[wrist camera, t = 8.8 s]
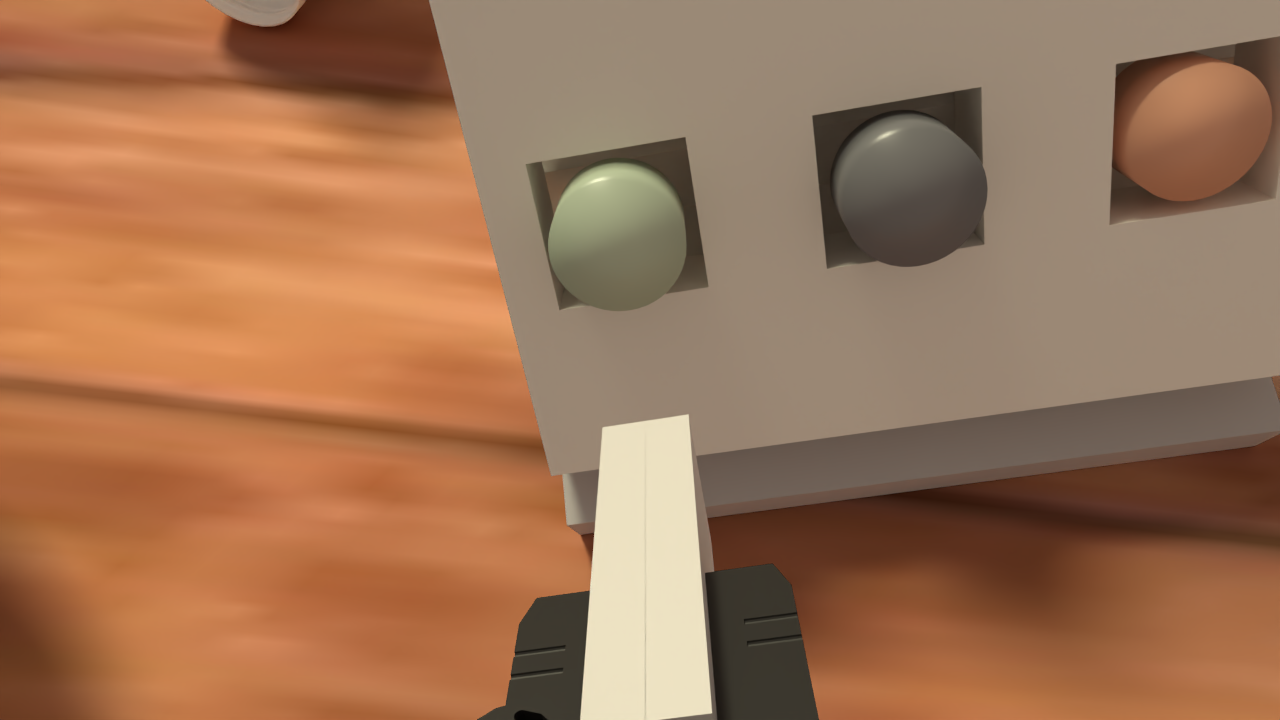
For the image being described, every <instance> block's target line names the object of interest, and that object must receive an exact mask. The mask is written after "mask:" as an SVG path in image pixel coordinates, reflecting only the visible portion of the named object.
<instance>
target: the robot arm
mask: <svg viewBox="0 0 1280 720" xmlns="http://www.w3.org/2000/svg"><path fill="white" fill-rule="evenodd" d="M477 720H819V718H818V713H817V708H816V703H815V698H814V693H813V688H812V684H811V679H810V674H809V669H808V664H807V659H806V654H805V649H804V644H803V640H802V635H801V630H800V625H799V620H798V616H797V610H796V605H795V600H794V595H793V590H792V585H791V584H790V583H789V582H788V581H787V579H786V578H785V577H784V576H783V575H782V574H781V573H780V572H779V570H778V569H777V568H776V567H775V566H774V565H773V564H765V565H758V566H751V567H744V568H736V569H729V570H722V571H714V563H713V553H712V543H711V537H710V531H709V525H708V520H707V514H706V509H705V503H704V498H703V492H702V486H701V481H700V475H699V470H698V464H697V459H696V453H695V447H694V442H693V436H692V431H691V425H690V420H689V414H688V415H681V416H675V417H668V418H661V419H655V420H648V421H641V422H635V423H628V424H622V425H615V426H608V427H603V429H602V442H601V455H600V468H599V481H598V494H597V507H596V520H595V533H594V546H593V559H592V572H591V585H590V591H585V592H578V593H570V594H563V595H556V596H548V597H541V598H537V599H536V600H535V601H534V603H533V604H532V606H531V607H530V609H529V610H528V612H527V613H526V615H525V616H524V618H523V619H522V621H521V622H520V624H519V628H518V634H517V640H516V646H515V657H514V658H513V664H512V670H511V680H510V682H509V688H508V694H507V700H506V706H502V707H499V708H496V709H494V710H492V711H491V712H489V713H487V714H486V715H484V716H482V717H481V718H479V719H477Z"/></svg>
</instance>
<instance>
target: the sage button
mask: <svg viewBox="0 0 1280 720" xmlns="http://www.w3.org/2000/svg"><path fill="white" fill-rule="evenodd" d="M686 246H687V245H686V230H685V216H684V209H683V204H682V201H681V199H680V196H679V194H678V192H677V190H676V188H675V187H674V185H673V184H672V183H671V181H670V180H669V179H668V178H667V177H666V176H665V175H664V174H663V173H661V172H660V171H659V170H658V169H656V168H654V167H653V166H651V165H649V164H647V163H644V162H642V161H638V160H635V159H629V158H609V159H604V160H600V161H597V162H595V163H592V164H590V165H588V166H587V167H585V168H583V169H582V170H581V171H579V172H578V173H577V174H576V175H575V176H574V177H573V178H572V179H571V180H570V181H569V182H568V184H567V185H566V187H565V188H564V190H563V192H562V194H561V196H560V199H559V202H558V205H557V208H556V211H555V215H554V218H553V221H552V224H551V228H550V232H549V238H548V251H549V258H550V261H551V265H552V268H553V270H554V272H555V274H556V276H557V277H558V279H559V281H560V282H561V283H562V285H563V286H564V287H565V288H566V289H567V290H568V291H569V292H570V293H571V294H572V295H573V296H575V297H576V298H577V299H579V300H581V301H582V302H584V303H586V304H588V305H590V306H593V307H596V308H599V309H603V310H609V311H628V310H634V309H638V308H641V307H644V306H647V305H649V304H651V303H653V302H655V301H656V300H658V299H659V298H661V297H662V296H663V295H664V294H665V293H667V292H668V291H669V289H670V288H671V287H672V286H673V285H674V283H675V282H676V280H677V279H678V277H679V275H680V273H681V271H682V269H683V266H684V263H685V257H686Z"/></svg>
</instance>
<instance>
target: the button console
mask: <svg viewBox="0 0 1280 720" xmlns="http://www.w3.org/2000/svg"><path fill="white" fill-rule="evenodd" d="M429 3H430V7H431V10H432V14H433V18H434V22H435V26H436V30H437V34H438V38H439V42H440V45H441V49H442V53H443V57H444V61H445V65H446V69H447V73H448V77H449V80H450V84H451V88H452V92H453V96H454V100H455V104H456V108H457V112H458V115H459V119H460V123H461V127H462V131H463V135H464V139H465V143H466V147H467V150H468V154H469V158H470V162H471V166H472V170H473V174H474V178H475V182H476V185H477V189H478V193H479V197H480V201H481V205H482V209H483V213H484V217H485V220H486V224H487V228H488V232H489V236H490V240H491V244H492V248H493V252H494V255H495V259H496V263H497V267H498V271H499V275H500V279H501V283H502V287H503V290H504V294H505V298H506V302H507V306H508V310H509V314H510V318H511V322H512V325H513V329H514V333H515V337H516V341H517V345H518V349H519V353H520V357H521V360H522V364H523V368H524V372H525V376H526V380H527V384H528V388H529V392H530V395H531V399H532V403H533V407H534V411H535V415H536V419H537V423H538V427H539V430H540V434H541V438H542V442H543V446H544V450H545V454H546V458H547V461H548V465H549V469H550V473H551V476H554V475H561V474H563V485H564V497H565V509H566V521H567V526H569V527H570V528H571V529H573V530H574V531H576V532H577V533H579V534H580V535H582V534H590V533H595V520H596V507H597V494H598V481H599V468H600V455H601V442H602V429H603V427H608V426H615V425H622V424H628V423H635V422H641V421H648V420H655V419H661V418H668V417H675V416H681V415H688V414H689V420H690V425H691V431H692V436H693V442H694V447H695V453H696V459H697V464H698V470H699V475H700V481H701V486H702V492H703V498H704V503H705V509H706V514H707V518H711V517H719V516H726V515H734V514H742V513H749V512H757V511H765V510H772V509H780V508H787V507H795V506H803V505H810V504H818V503H825V502H833V501H841V500H848V499H856V498H863V497H871V496H879V495H886V494H894V493H901V492H909V491H917V490H924V489H932V488H939V487H947V486H955V485H962V484H970V483H977V482H985V481H993V480H1000V479H1008V478H1015V477H1023V476H1031V475H1038V474H1046V473H1054V472H1061V471H1069V470H1076V469H1084V468H1092V467H1099V466H1107V465H1114V464H1122V463H1130V462H1137V461H1145V460H1152V459H1160V458H1168V457H1175V456H1183V455H1190V454H1198V453H1206V452H1213V451H1221V450H1228V449H1236V448H1244V447H1251V446H1256V445H1258V444H1260V443H1262V442H1264V441H1266V440H1268V439H1270V438H1273V437H1275V436H1277V435H1279V434H1280V402H1279V399H1278V396H1277V393H1276V390H1275V387H1274V384H1273V381H1272V378H1271V377H1272V376H1279V375H1280V0H429ZM1190 51H1194V52H1197V53H1200V54H1203V55H1206V56H1209V57H1212V58H1215V59H1218V60H1221V61H1224V62H1227V63H1230V64H1233V65H1236V66H1239V67H1242V68H1244V69H1246V70H1248V71H1249V72H1251V73H1252V74H1253V75H1255V76H1256V77H1257V78H1258V79H1259V80H1260V81H1261V83H1262V84H1263V86H1264V87H1265V89H1266V91H1267V93H1268V95H1269V98H1270V102H1271V107H1272V124H1271V130H1270V134H1269V137H1268V140H1267V142H1266V145H1265V147H1264V149H1263V151H1262V153H1261V154H1260V156H1259V158H1258V159H1257V160H1256V162H1255V163H1254V165H1253V166H1252V167H1251V168H1250V169H1249V170H1248V171H1247V172H1246V174H1244V175H1243V176H1242V177H1241V178H1240V179H1239V180H1238V181H1236V182H1235V183H1234V184H1232V185H1231V186H1229V187H1228V188H1226V189H1224V190H1223V191H1221V192H1219V193H1216V194H1214V195H1212V196H1209V197H1206V198H1203V199H1198V200H1194V201H1172V200H1167V199H1163V198H1160V197H1158V196H1156V195H1154V194H1152V193H1150V192H1149V191H1147V190H1146V189H1144V188H1142V187H1141V186H1139V185H1138V184H1136V183H1135V182H1133V181H1132V180H1130V179H1129V178H1127V177H1126V176H1124V175H1123V174H1121V173H1120V172H1118V171H1117V170H1115V169H1114V168H1112V149H1113V125H1114V101H1115V78H1116V77H1117V76H1118V75H1119V74H1120V73H1121V72H1122V71H1123V70H1124V69H1126V68H1127V67H1128V66H1129V65H1131V64H1132V63H1134V62H1135V61H1137V60H1142V59H1148V58H1154V57H1160V56H1166V55H1172V54H1178V53H1184V52H1190ZM893 110H914V111H920V112H923V113H926V114H929V115H931V116H933V117H935V118H937V119H938V120H940V121H941V122H943V123H944V124H945V125H946V126H947V127H948V128H949V129H950V130H952V131H953V132H954V133H955V134H956V135H957V136H958V137H959V138H961V139H962V140H963V141H964V142H965V143H966V144H967V145H968V146H969V147H971V148H972V150H973V151H974V152H975V153H976V155H977V156H978V158H979V159H980V161H981V163H982V165H983V168H984V170H985V174H986V178H987V187H988V191H987V201H986V206H985V210H984V213H983V216H982V218H981V220H980V222H979V224H978V226H977V227H976V229H975V230H974V232H973V233H972V235H971V236H970V237H969V238H968V239H967V240H966V241H965V242H964V243H963V244H962V245H961V246H960V247H959V248H958V249H956V250H955V251H954V252H952V253H951V254H949V255H948V256H946V257H944V258H942V259H940V260H938V261H935V262H932V263H929V264H926V265H921V266H914V267H899V266H892V265H888V264H885V263H882V262H880V261H877V260H875V259H873V258H872V257H870V256H869V255H867V254H866V253H865V252H864V251H862V250H861V249H860V248H859V247H858V245H857V244H856V243H855V242H854V240H853V239H852V237H851V236H850V234H849V232H848V230H847V228H846V226H845V224H844V222H843V220H842V218H841V216H840V214H839V213H838V211H837V209H836V206H835V204H834V202H833V199H832V195H831V189H830V174H831V168H832V164H833V161H834V158H835V155H836V153H837V151H838V149H839V148H840V146H841V144H842V143H843V141H844V140H845V139H846V137H847V136H848V135H849V134H850V133H851V132H852V131H853V130H854V129H855V128H857V127H858V126H859V125H860V124H862V123H863V122H865V121H866V120H868V119H870V118H872V117H874V116H876V115H879V114H881V113H884V112H889V111H893ZM609 158H629V159H635V160H638V161H642V162H644V163H647V164H649V165H651V166H653V167H654V168H656V169H658V170H659V171H660V172H661V173H663V174H664V175H665V176H666V177H667V178H668V179H669V180H670V181H671V183H672V184H673V185H674V187H675V188H676V190H677V192H678V194H679V196H680V199H681V201H682V204H683V209H684V216H685V230H686V245H687V246H686V257H685V263H684V266H683V269H682V271H681V273H680V275H679V277H678V279H677V280H676V282H675V283H674V285H673V286H672V287H671V288H670V289H669V291H668V292H667V293H665V294H664V295H663V296H662V297H661V298H659V299H658V300H656V301H655V302H653V303H651V304H649V305H647V306H644V307H641V308H638V309H634V310H628V311H609V310H603V309H599V308H596V307H593V306H590V305H588V304H586V303H584V302H582V301H581V300H579V299H577V298H576V297H575V296H573V295H572V294H571V293H570V292H569V291H568V290H567V289H566V288H565V287H564V286H563V285H562V283H561V282H560V281H559V279H558V277H557V276H556V274H555V272H554V270H553V268H552V265H551V261H550V258H549V251H548V238H549V232H550V228H551V224H552V221H553V218H554V215H555V211H556V208H557V205H558V202H559V199H560V196H561V194H562V192H563V190H564V188H565V187H566V185H567V184H568V182H569V181H570V180H571V179H572V178H573V177H574V176H575V175H576V174H577V173H578V172H579V171H581V170H582V169H583V168H585V167H587V166H588V165H590V164H592V163H595V162H597V161H600V160H604V159H609Z"/></svg>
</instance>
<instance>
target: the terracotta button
mask: <svg viewBox="0 0 1280 720" xmlns="http://www.w3.org/2000/svg"><path fill="white" fill-rule="evenodd" d="M1271 124H1272V107H1271V102H1270V98H1269V95H1268V93H1267V91H1266V89H1265V87H1264V86H1263V84H1262V83H1261V81H1260V80H1259V79H1258V78H1257V77H1256V76H1255V75H1253V74H1252V73H1251V72H1249V71H1248V70H1246V69H1244V68H1242V67H1239V66H1236V65H1233V64H1230V63H1227V62H1224V61H1221V60H1218V59H1215V58H1212V57H1209V56H1206V55H1203V54H1200V53H1197V52H1194V51H1190V52H1184V53H1178V54H1172V55H1166V56H1160V57H1154V58H1148V59H1142V60H1137V61H1135V62H1134V63H1132V64H1131V65H1129V66H1128V67H1127V68H1126V69H1124V70H1123V71H1122V72H1121V73H1120V74H1119V75H1118V76H1117V77H1116V78H1115V101H1114V125H1113V149H1112V168H1114V169H1115V170H1117V171H1118V172H1120V173H1121V174H1123V175H1124V176H1126V177H1127V178H1129V179H1130V180H1132V181H1133V182H1135V183H1136V184H1138V185H1139V186H1141V187H1142V188H1144V189H1146V190H1147V191H1149V192H1150V193H1152V194H1154V195H1156V196H1158V197H1160V198H1163V199H1167V200H1172V201H1194V200H1198V199H1203V198H1206V197H1209V196H1212V195H1214V194H1216V193H1219V192H1221V191H1223V190H1224V189H1226V188H1228V187H1229V186H1231V185H1232V184H1234V183H1235V182H1236V181H1238V180H1239V179H1240V178H1241V177H1242V176H1243V175H1244V174H1246V172H1247V171H1248V170H1249V169H1250V168H1251V167H1252V166H1253V165H1254V163H1255V162H1256V160H1257V159H1258V158H1259V156H1260V154H1261V153H1262V151H1263V149H1264V147H1265V145H1266V142H1267V140H1268V137H1269V134H1270V130H1271Z"/></svg>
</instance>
